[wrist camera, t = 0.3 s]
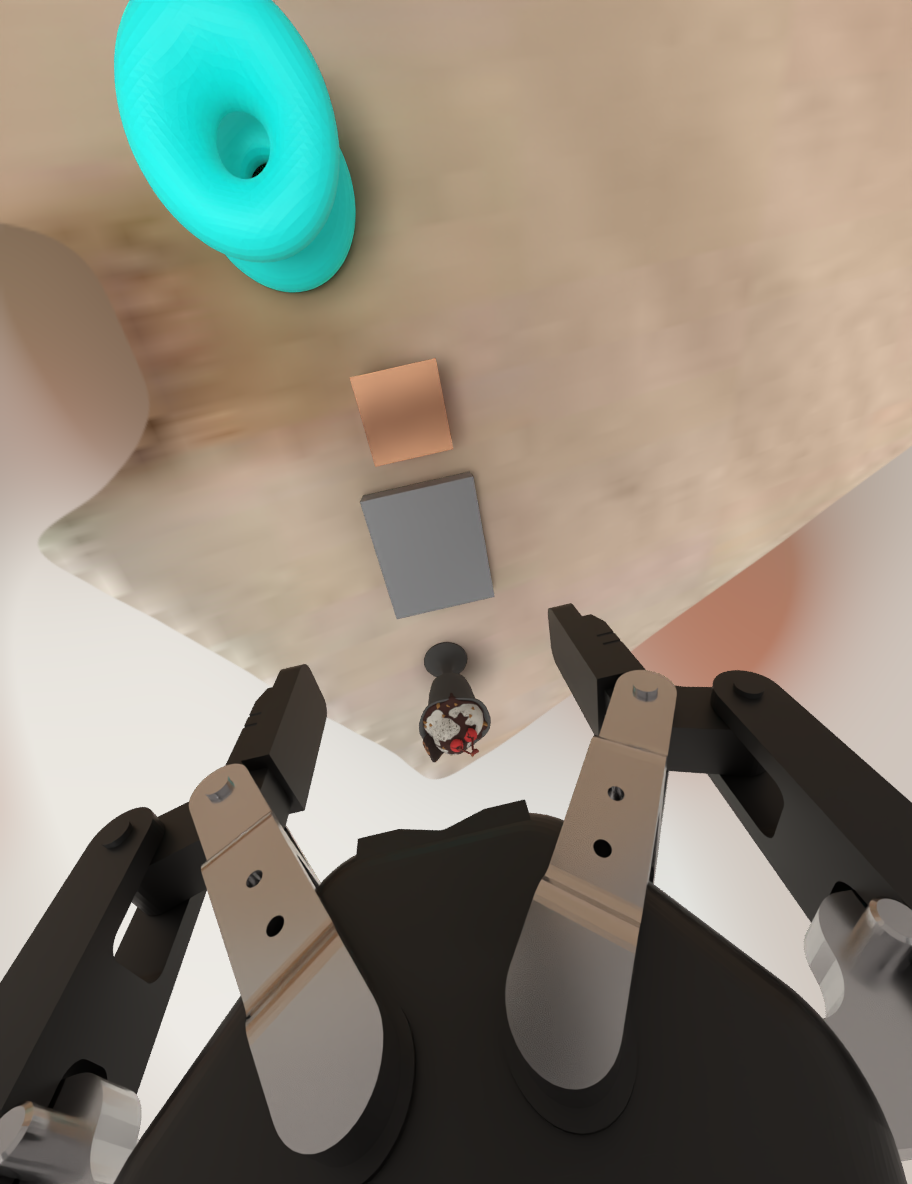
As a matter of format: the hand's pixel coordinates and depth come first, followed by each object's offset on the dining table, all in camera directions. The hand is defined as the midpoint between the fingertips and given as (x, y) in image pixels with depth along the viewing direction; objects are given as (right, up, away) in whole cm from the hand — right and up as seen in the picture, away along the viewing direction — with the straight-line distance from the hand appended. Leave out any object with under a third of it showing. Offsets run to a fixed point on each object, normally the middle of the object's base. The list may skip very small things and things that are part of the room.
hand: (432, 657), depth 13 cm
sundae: (0, -6, +32) cm, 33 cm away
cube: (-4, +17, +21) cm, 27 cm away
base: (-2, +7, +26) cm, 27 cm away
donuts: (-11, +29, +14) cm, 34 cm away
